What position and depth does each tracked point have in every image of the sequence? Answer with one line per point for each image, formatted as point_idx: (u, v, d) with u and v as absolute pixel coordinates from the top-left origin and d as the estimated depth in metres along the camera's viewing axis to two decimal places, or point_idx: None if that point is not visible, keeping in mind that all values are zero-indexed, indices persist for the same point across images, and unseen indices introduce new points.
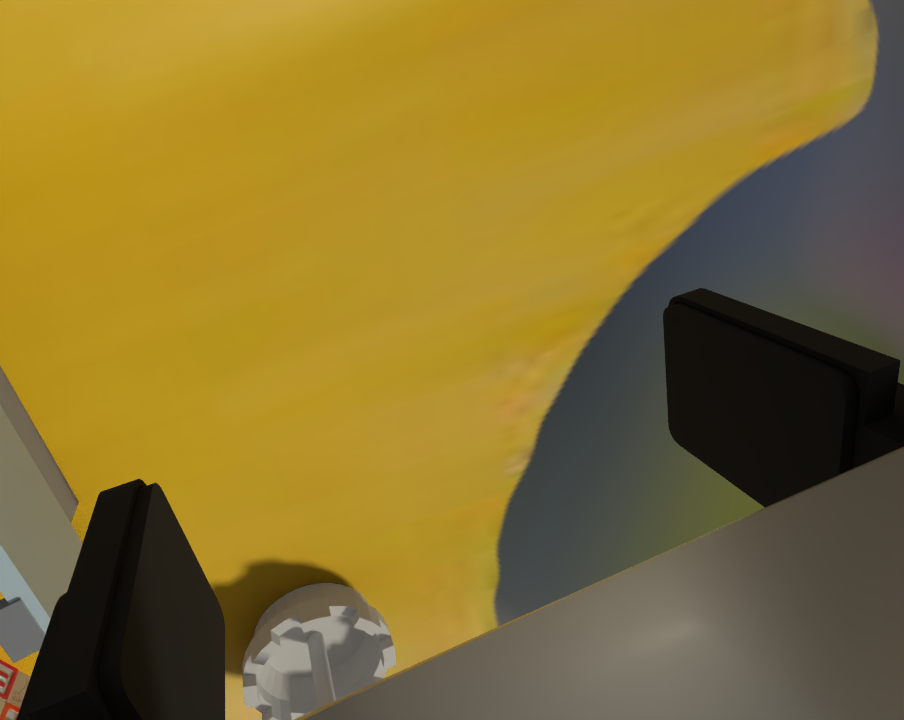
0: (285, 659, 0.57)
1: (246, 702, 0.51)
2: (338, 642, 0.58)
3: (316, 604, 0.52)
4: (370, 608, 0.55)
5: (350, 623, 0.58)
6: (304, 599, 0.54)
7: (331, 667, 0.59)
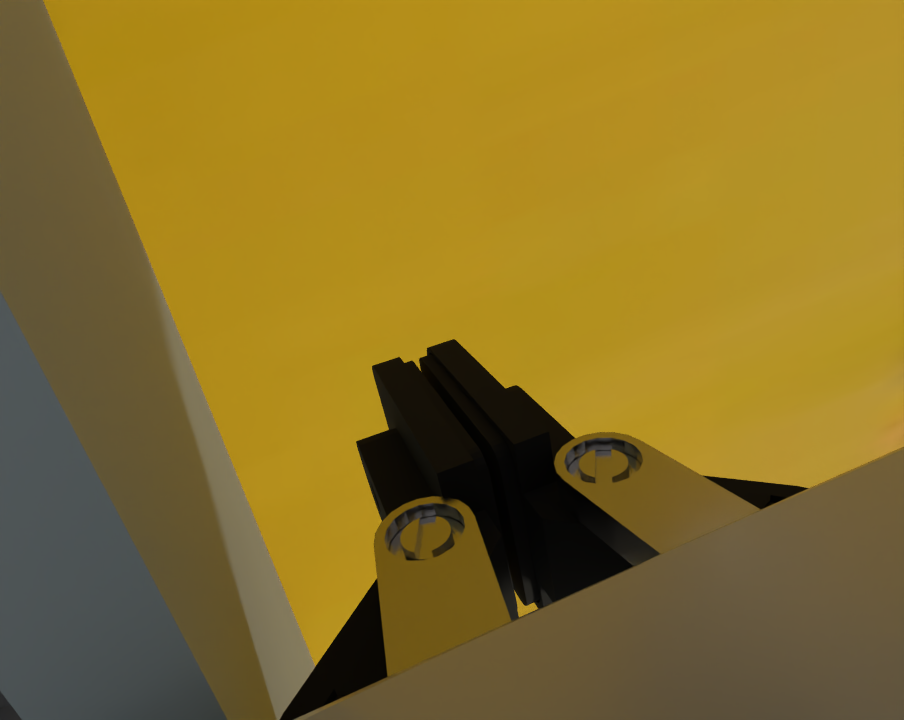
0: None
1: None
2: None
3: None
4: None
5: None
6: None
7: None
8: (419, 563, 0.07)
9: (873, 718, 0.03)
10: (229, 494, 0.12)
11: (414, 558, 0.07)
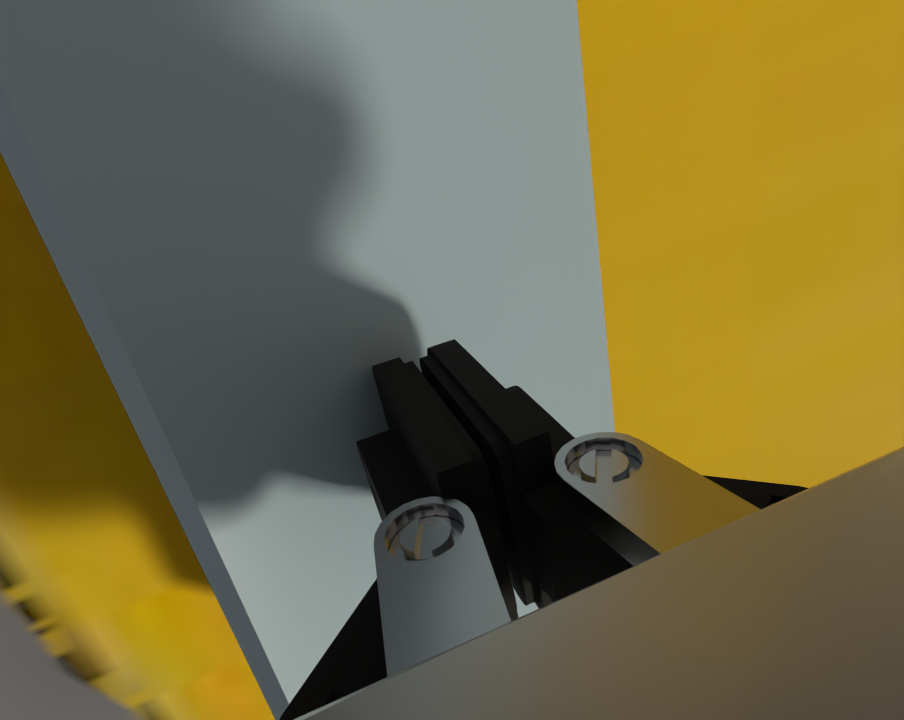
0: None
1: None
2: None
3: None
4: None
5: None
6: None
7: None
8: (419, 563, 0.07)
9: (873, 718, 0.03)
10: (514, 380, 0.15)
11: (414, 558, 0.07)
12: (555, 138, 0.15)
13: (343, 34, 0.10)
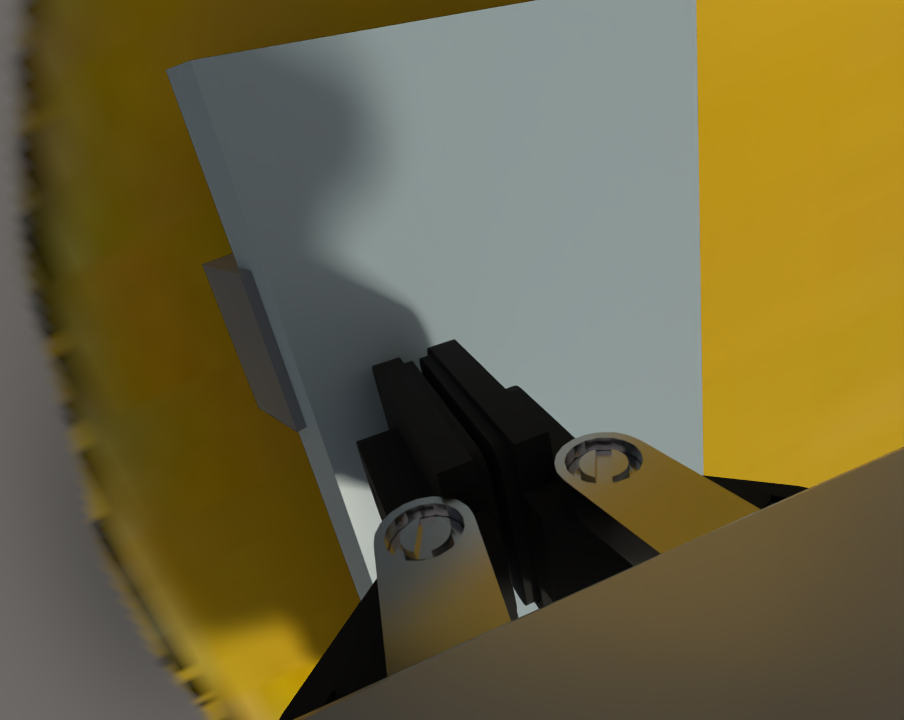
0: None
1: None
2: None
3: None
4: None
5: None
6: None
7: None
8: (419, 563, 0.07)
9: (873, 718, 0.03)
10: None
11: (414, 558, 0.07)
12: (671, 345, 0.18)
13: (517, 349, 0.14)
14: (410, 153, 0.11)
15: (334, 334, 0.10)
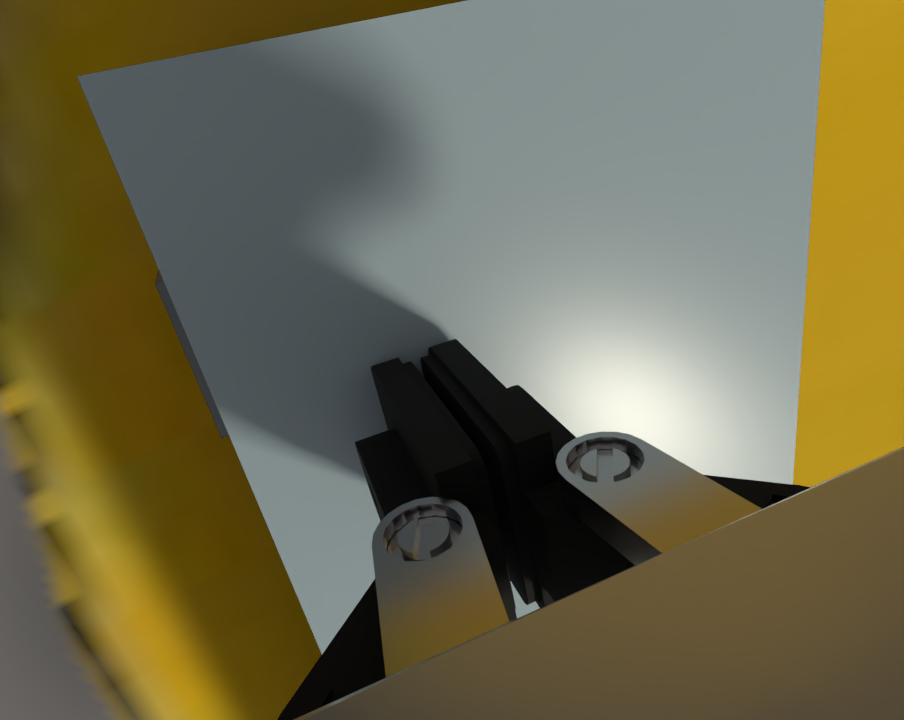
0: None
1: None
2: None
3: None
4: None
5: None
6: None
7: None
8: (417, 563, 0.07)
9: (873, 718, 0.03)
10: None
11: (412, 558, 0.07)
12: (744, 400, 0.15)
13: None
14: (349, 168, 0.10)
15: (250, 351, 0.10)
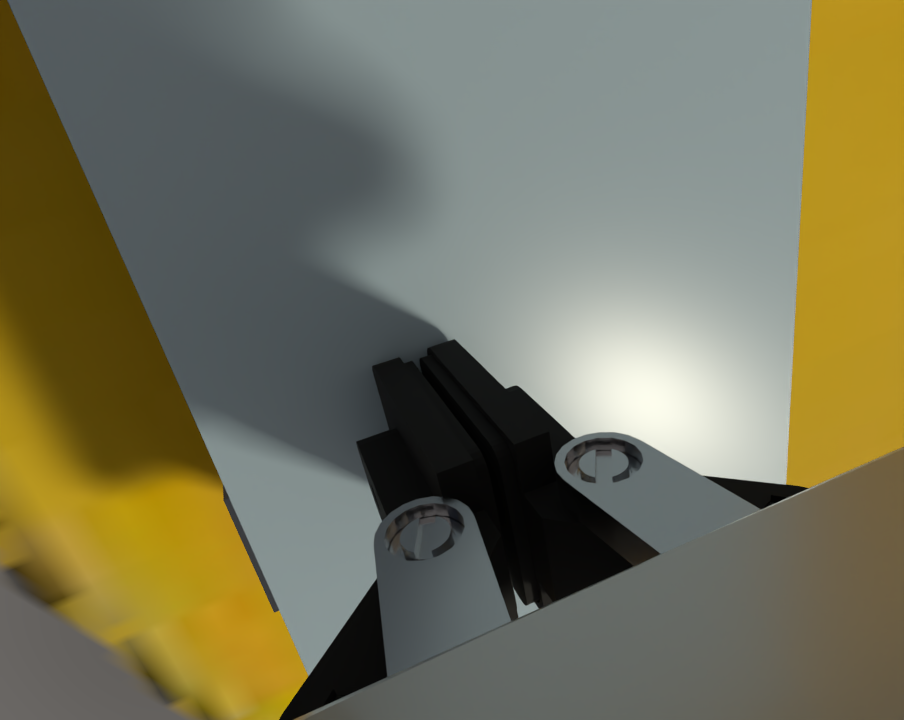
0: None
1: None
2: None
3: None
4: None
5: None
6: None
7: None
8: (419, 563, 0.07)
9: (873, 718, 0.03)
10: (578, 35, 0.10)
11: (414, 558, 0.07)
12: None
13: None
14: None
15: None
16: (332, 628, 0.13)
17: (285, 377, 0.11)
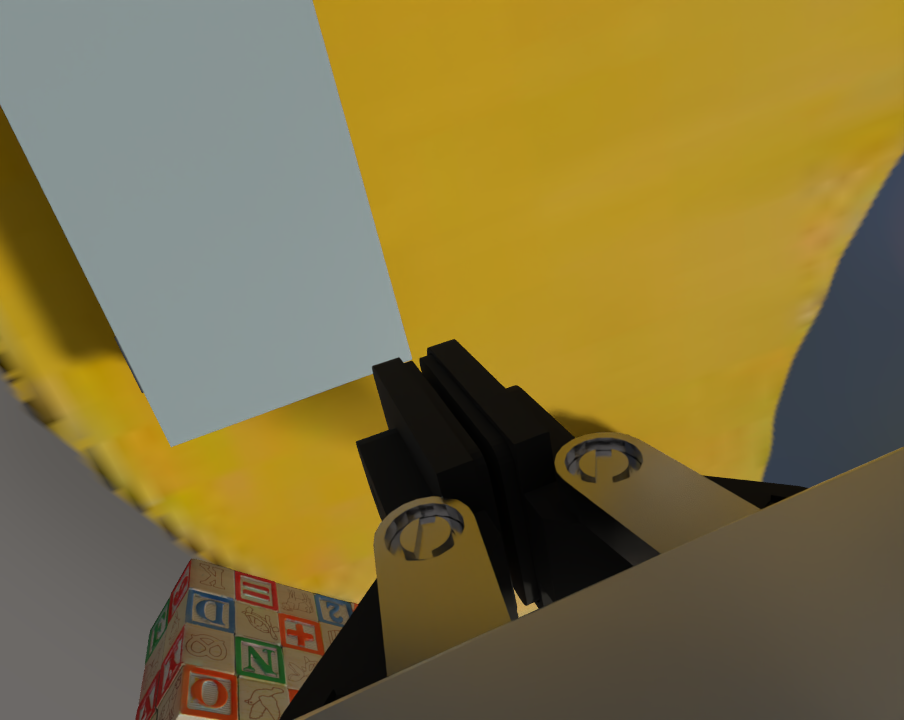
0: None
1: None
2: None
3: None
4: None
5: None
6: None
7: None
8: (419, 563, 0.07)
9: (872, 718, 0.03)
10: (238, 150, 0.27)
11: (414, 558, 0.07)
12: (272, 8, 0.26)
13: None
14: None
15: None
16: (167, 399, 0.30)
17: (133, 283, 0.28)
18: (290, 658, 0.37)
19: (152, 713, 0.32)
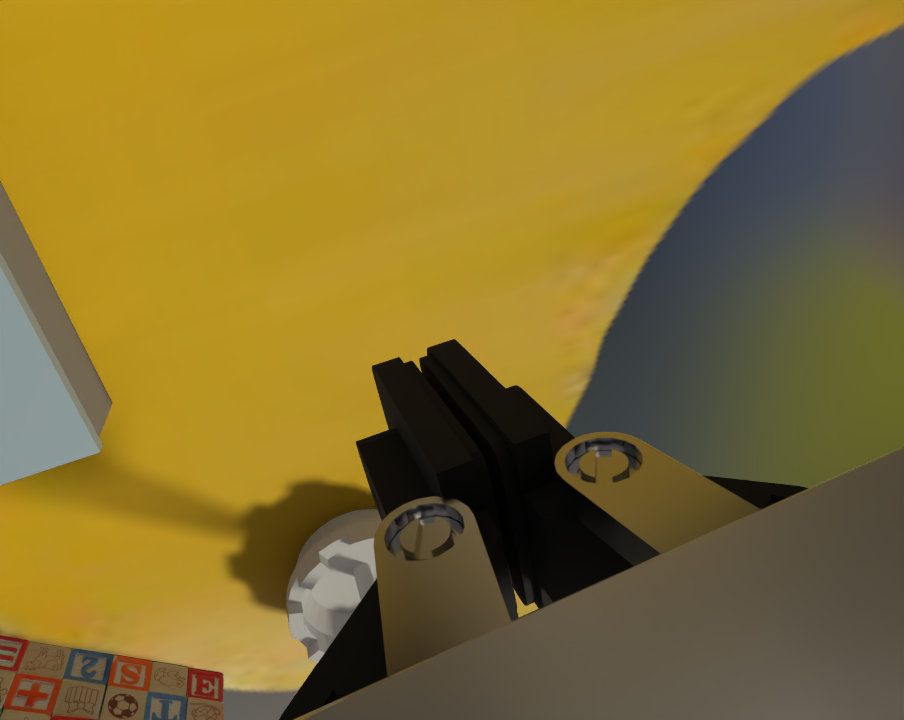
0: (329, 592, 0.52)
1: (292, 632, 0.47)
2: None
3: (366, 526, 0.48)
4: None
5: None
6: (351, 523, 0.50)
7: None
8: (419, 563, 0.07)
9: (873, 718, 0.03)
10: None
11: (414, 558, 0.07)
12: None
13: None
14: None
15: None
16: None
17: None
18: None
19: None
